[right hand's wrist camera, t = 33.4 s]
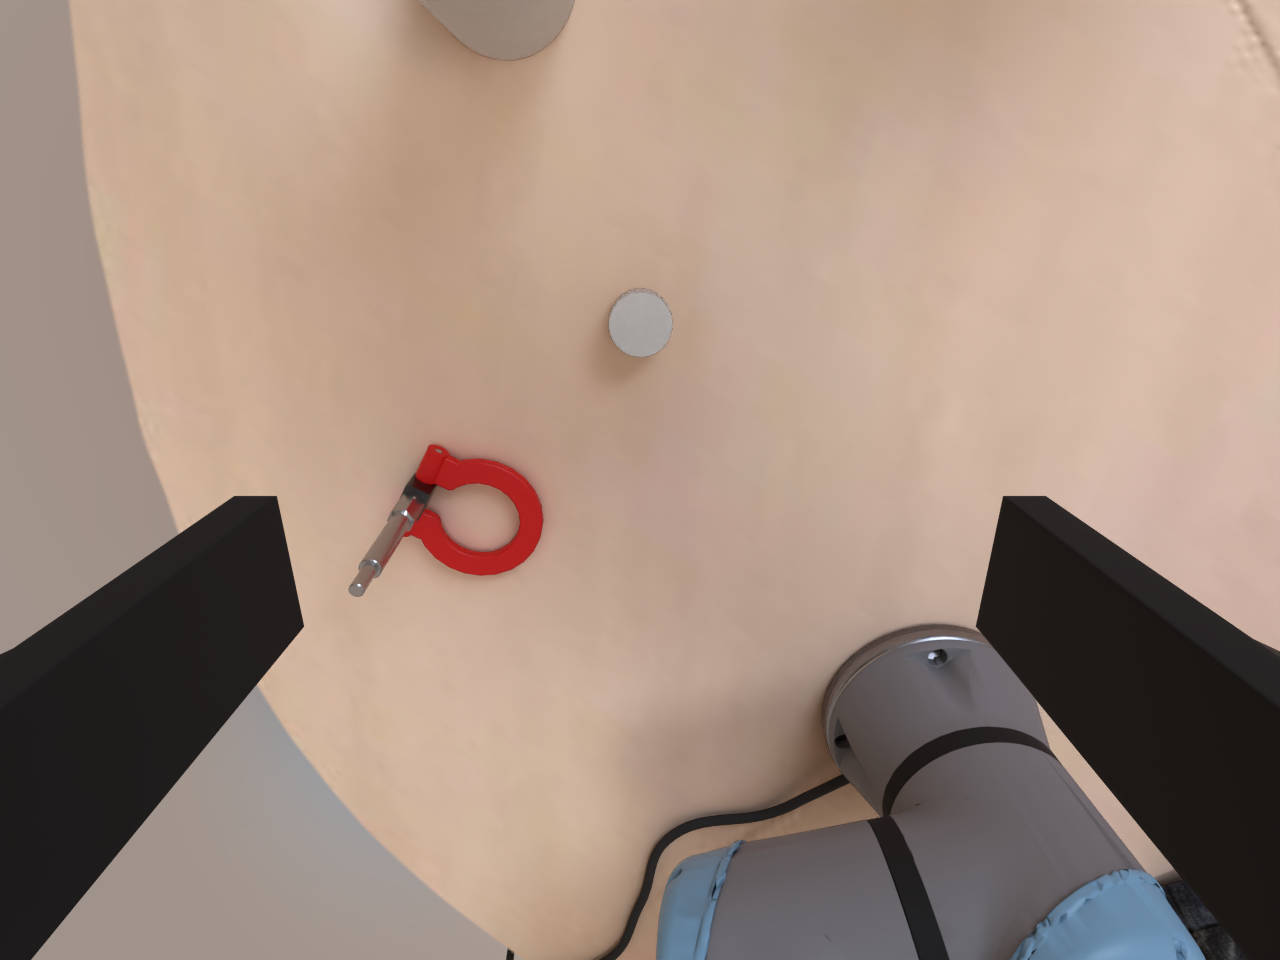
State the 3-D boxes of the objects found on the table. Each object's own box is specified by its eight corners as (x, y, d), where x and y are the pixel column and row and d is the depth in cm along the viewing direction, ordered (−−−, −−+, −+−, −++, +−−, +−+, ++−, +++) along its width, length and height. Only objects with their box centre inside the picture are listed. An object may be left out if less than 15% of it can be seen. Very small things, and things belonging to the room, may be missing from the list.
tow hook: (564, 490, 46) (436, 428, 44) (548, 594, 34) (371, 516, 32) (511, 585, 49) (388, 531, 47) (479, 712, 37) (311, 646, 35)
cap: (676, 293, 41) (678, 297, 39) (665, 355, 42) (667, 362, 40) (614, 283, 41) (612, 286, 39) (605, 346, 42) (603, 352, 40)
